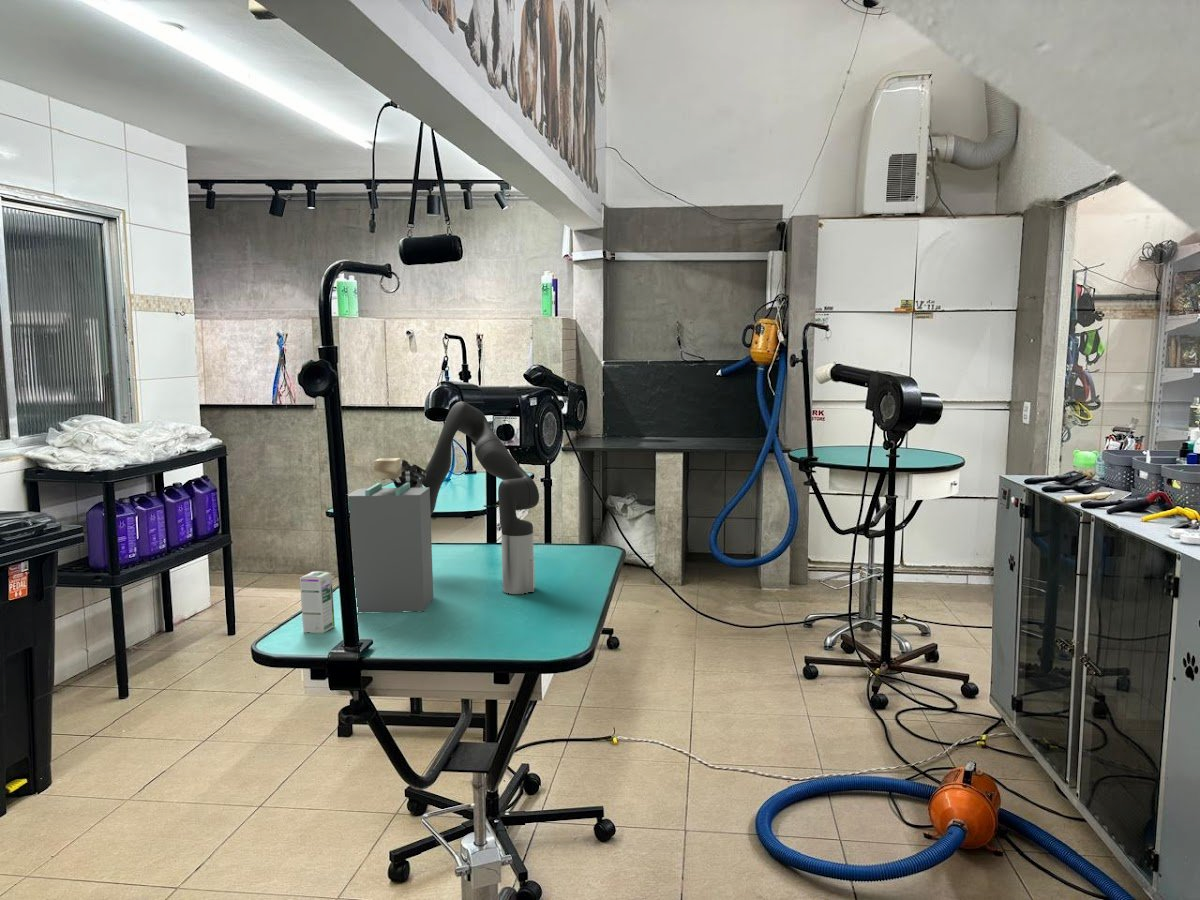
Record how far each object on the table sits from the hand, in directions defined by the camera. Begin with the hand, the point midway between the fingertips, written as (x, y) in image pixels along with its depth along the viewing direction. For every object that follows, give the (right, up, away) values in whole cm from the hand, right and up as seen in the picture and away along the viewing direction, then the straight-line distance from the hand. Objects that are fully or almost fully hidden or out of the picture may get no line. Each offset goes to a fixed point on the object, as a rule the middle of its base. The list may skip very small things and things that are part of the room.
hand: (397, 462), depth 244 cm
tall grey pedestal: (+1, -40, -8) cm, 40 cm away
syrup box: (-13, -42, -29) cm, 53 cm away
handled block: (0, -3, -4) cm, 5 cm away
